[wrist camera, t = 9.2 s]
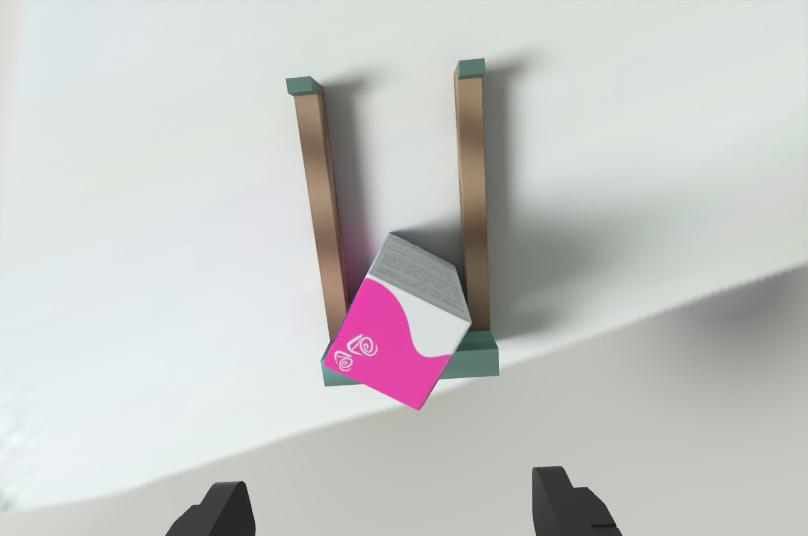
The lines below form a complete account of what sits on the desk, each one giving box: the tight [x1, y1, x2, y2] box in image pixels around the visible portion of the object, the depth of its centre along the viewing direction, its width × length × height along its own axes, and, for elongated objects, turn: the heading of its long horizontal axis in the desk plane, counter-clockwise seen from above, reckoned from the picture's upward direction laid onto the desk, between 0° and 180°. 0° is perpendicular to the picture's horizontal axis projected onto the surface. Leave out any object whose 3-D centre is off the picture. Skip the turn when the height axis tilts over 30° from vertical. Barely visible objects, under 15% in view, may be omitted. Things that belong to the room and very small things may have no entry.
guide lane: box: [286, 58, 499, 386], centre depth 26 cm, size 20×12×5 cm, turn 5°
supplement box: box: [323, 232, 472, 410], centre depth 24 cm, size 6×6×12 cm
